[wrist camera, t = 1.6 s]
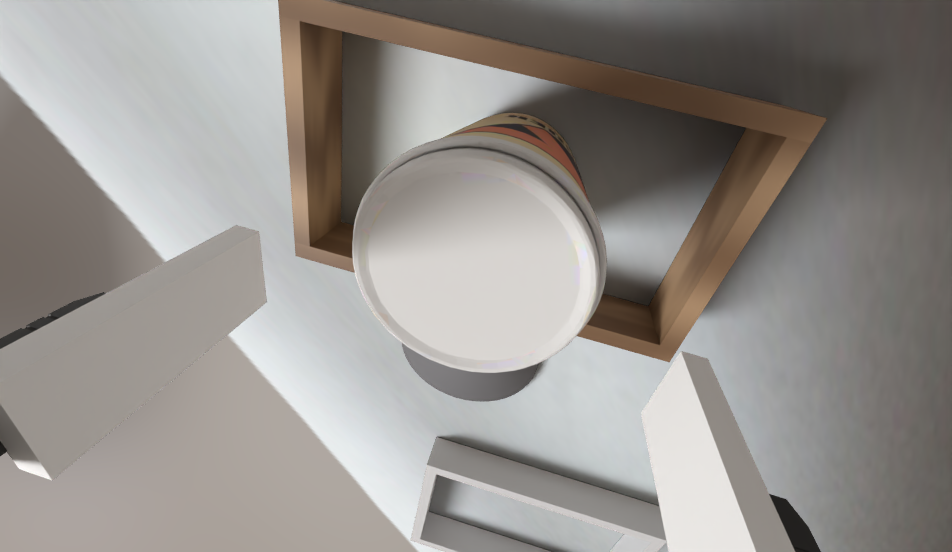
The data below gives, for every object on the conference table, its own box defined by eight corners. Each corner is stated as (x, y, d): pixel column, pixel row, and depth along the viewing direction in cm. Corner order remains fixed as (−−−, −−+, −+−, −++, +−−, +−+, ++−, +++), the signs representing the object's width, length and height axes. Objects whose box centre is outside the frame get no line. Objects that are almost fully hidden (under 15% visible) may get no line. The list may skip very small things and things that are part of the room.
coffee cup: (625, 181, 22) (671, 294, 12) (511, 273, 27) (476, 411, 17) (510, 55, 20) (453, 67, 10) (408, 178, 25) (300, 270, 15)
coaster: (411, 271, 29) (408, 275, 28) (557, 312, 28) (556, 317, 27) (398, 374, 35) (396, 379, 34) (518, 410, 34) (518, 416, 33)
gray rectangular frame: (436, 436, 38) (426, 464, 35) (660, 506, 36) (667, 541, 34) (419, 513, 46) (410, 540, 44) (602, 572, 45) (604, 604, 42)
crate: (324, -2, 21) (277, -11, 17) (782, 105, 19) (827, 118, 16) (328, 230, 28) (295, 255, 25) (656, 321, 27) (669, 362, 23)
